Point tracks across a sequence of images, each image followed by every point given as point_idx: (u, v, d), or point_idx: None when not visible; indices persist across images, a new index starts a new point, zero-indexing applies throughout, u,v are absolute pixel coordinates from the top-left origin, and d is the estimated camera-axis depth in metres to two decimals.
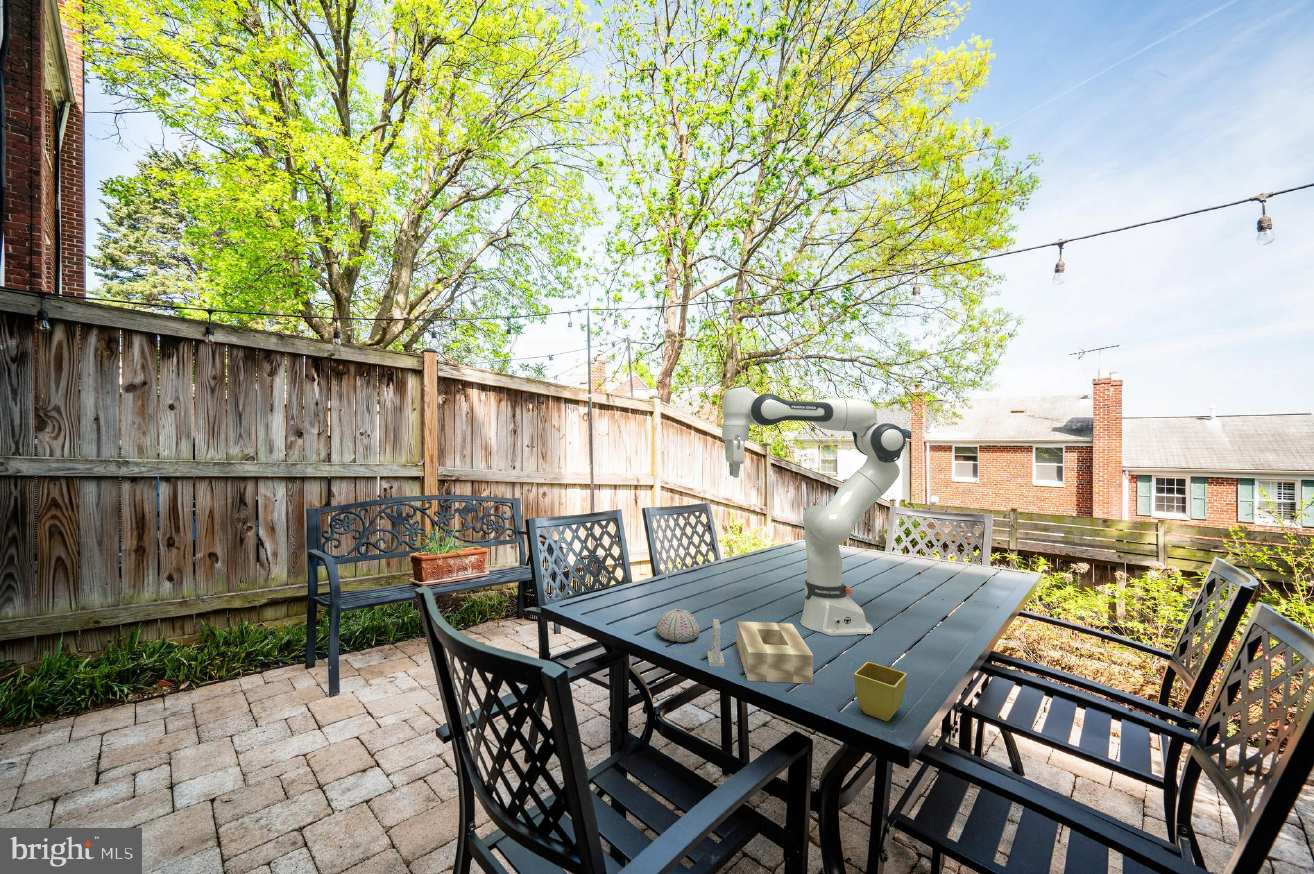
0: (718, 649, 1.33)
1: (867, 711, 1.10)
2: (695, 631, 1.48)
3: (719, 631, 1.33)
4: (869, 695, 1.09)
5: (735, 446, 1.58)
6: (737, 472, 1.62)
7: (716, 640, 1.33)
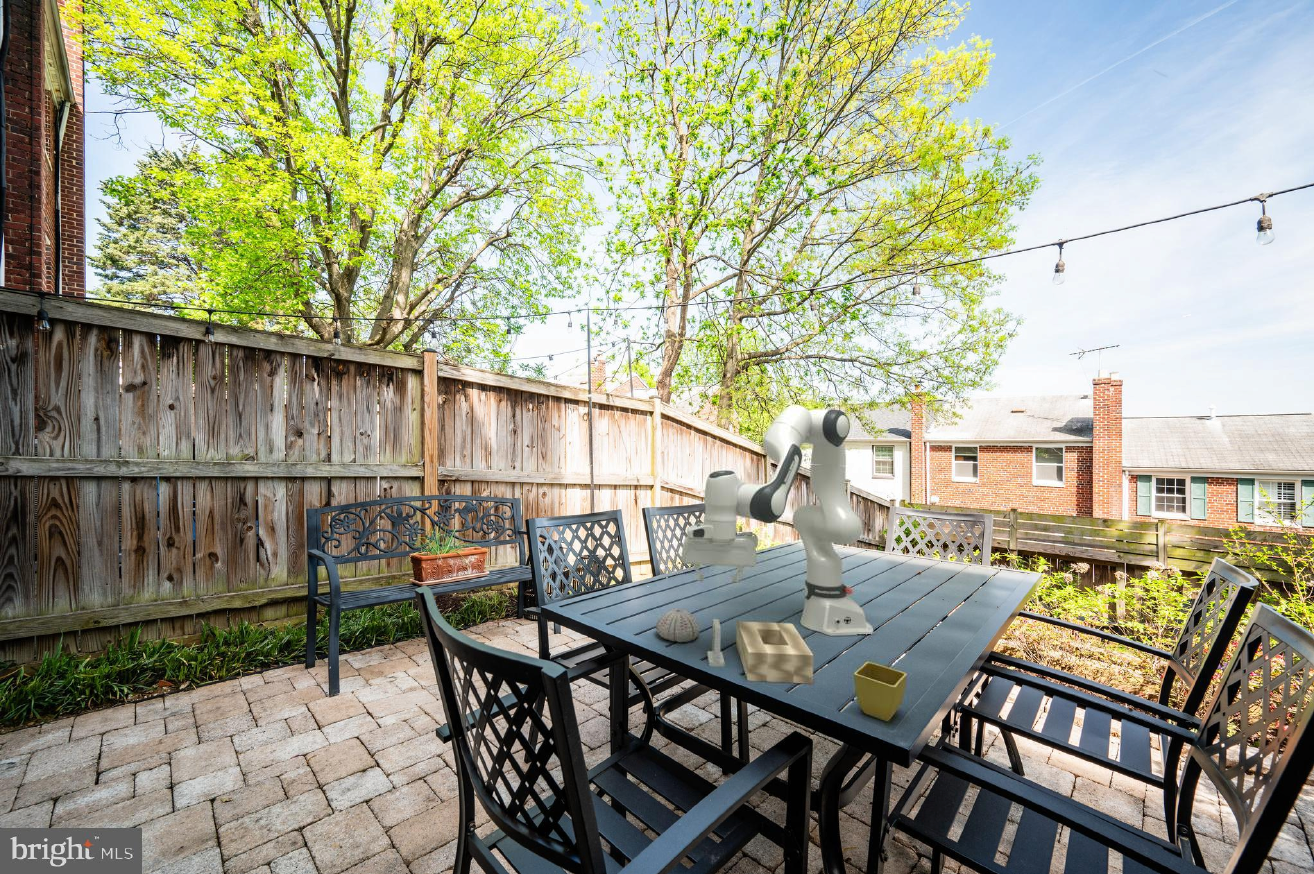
0: (718, 649, 1.33)
1: (867, 711, 1.10)
2: (695, 631, 1.48)
3: (719, 631, 1.33)
4: (869, 695, 1.09)
5: (755, 546, 1.35)
6: None
7: (716, 640, 1.33)
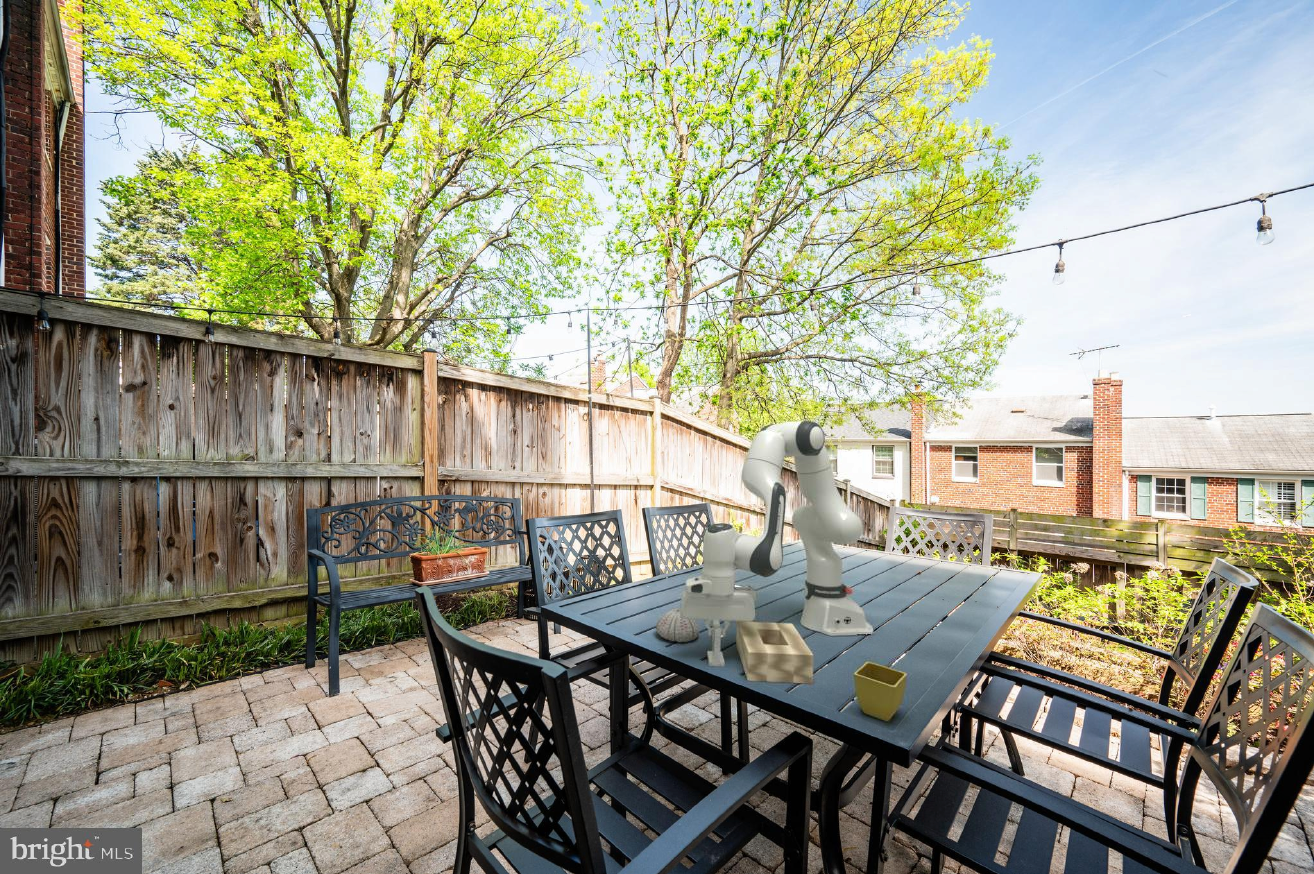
0: (718, 649, 1.33)
1: (867, 711, 1.10)
2: (695, 631, 1.48)
3: (719, 631, 1.33)
4: (869, 695, 1.09)
5: (753, 601, 1.35)
6: None
7: (716, 640, 1.33)
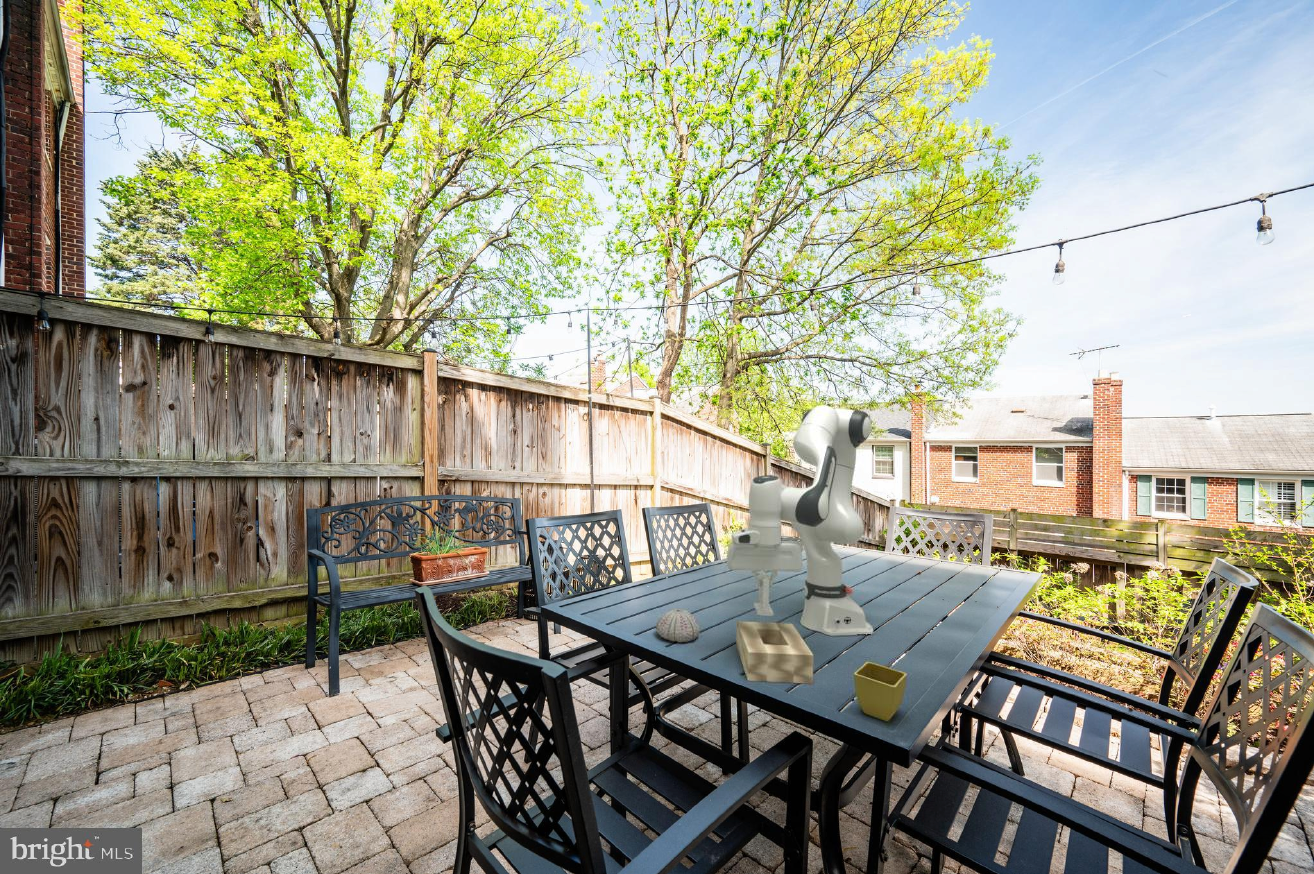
0: (767, 598, 1.33)
1: (867, 711, 1.10)
2: (695, 631, 1.48)
3: (767, 581, 1.33)
4: (869, 695, 1.09)
5: (800, 551, 1.35)
6: None
7: (764, 590, 1.33)
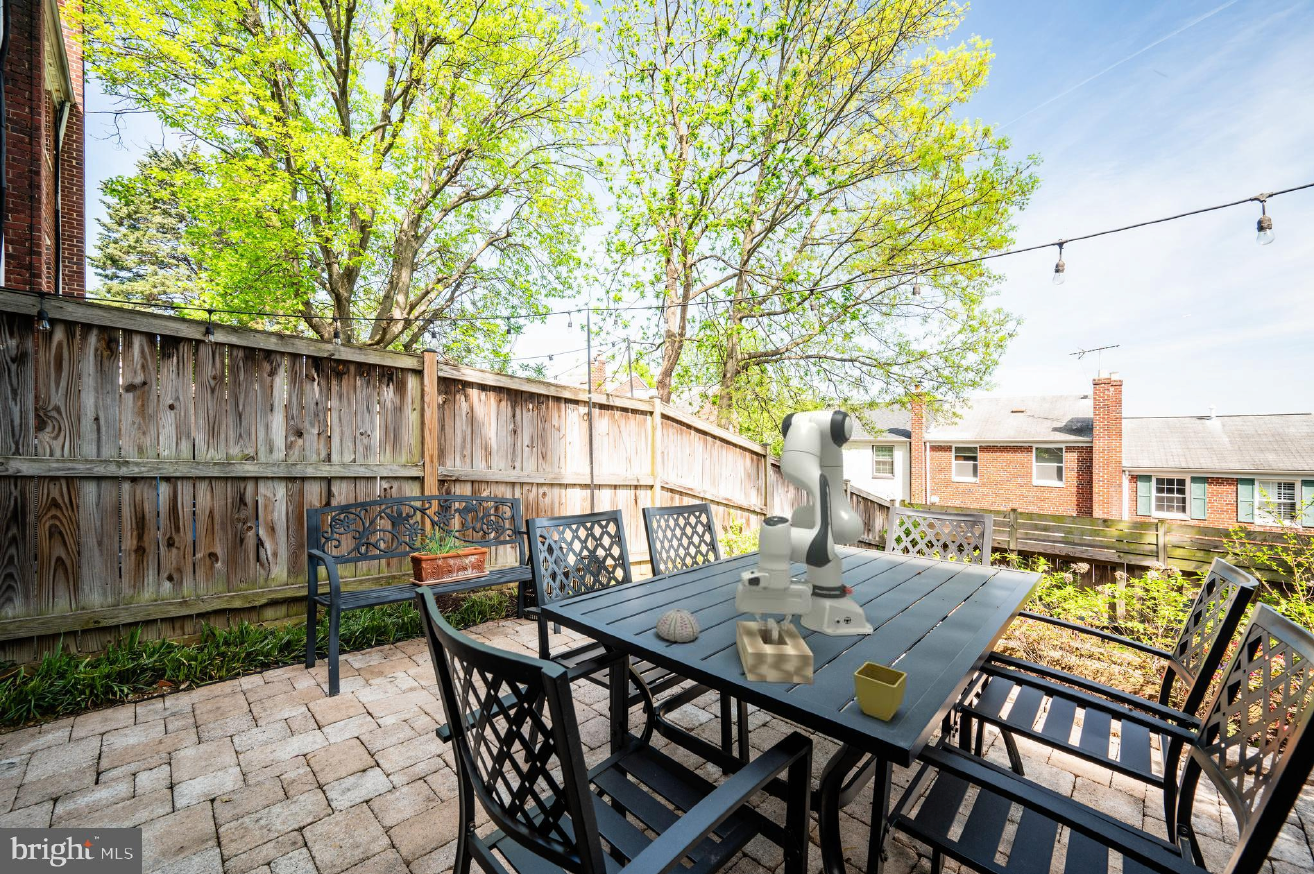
0: None
1: (867, 711, 1.10)
2: (695, 631, 1.48)
3: (776, 630, 1.33)
4: (869, 695, 1.09)
5: (810, 594, 1.35)
6: None
7: (773, 639, 1.32)
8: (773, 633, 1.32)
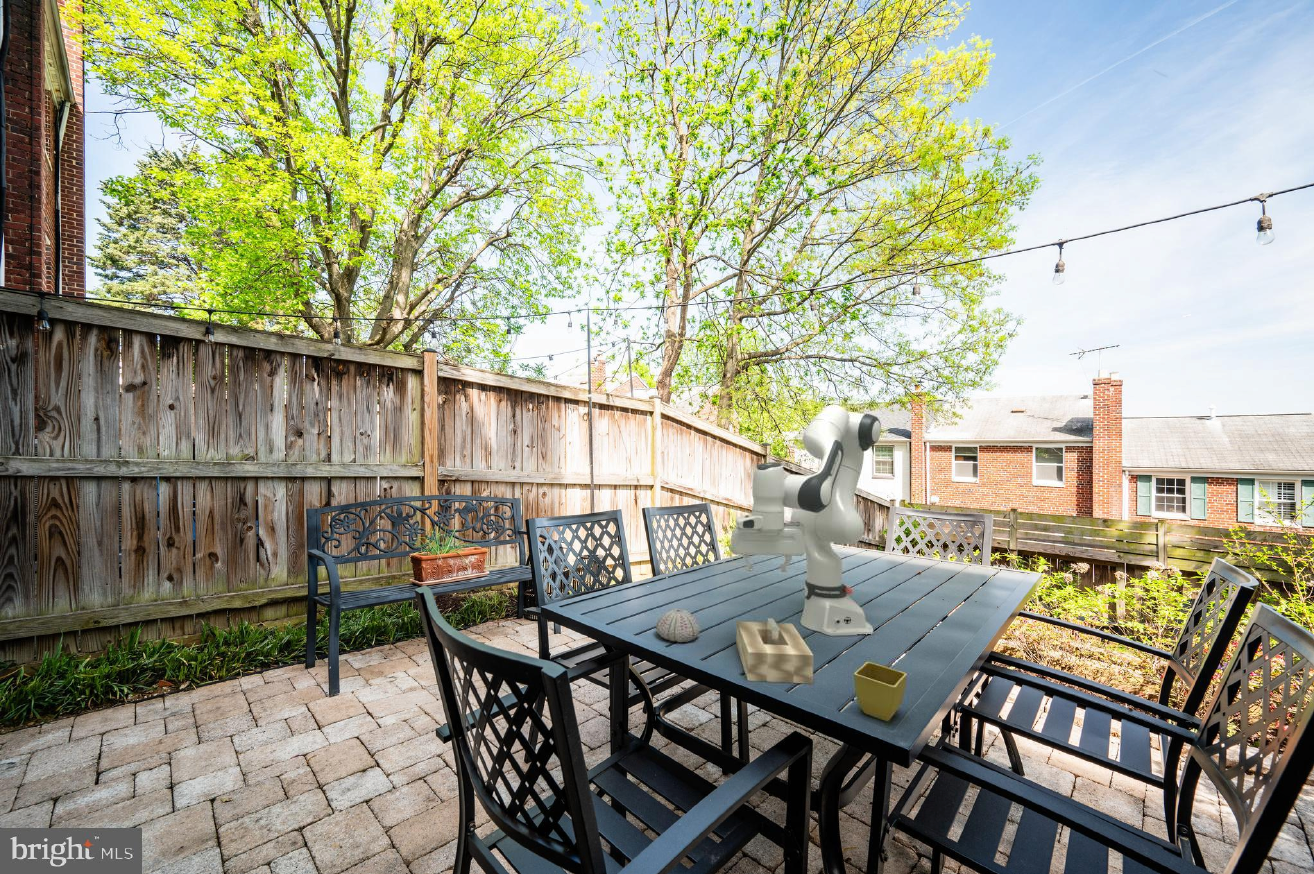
0: None
1: (867, 711, 1.10)
2: (695, 631, 1.48)
3: (776, 630, 1.33)
4: (869, 695, 1.09)
5: (803, 536, 1.39)
6: None
7: (773, 639, 1.32)
8: (773, 633, 1.32)
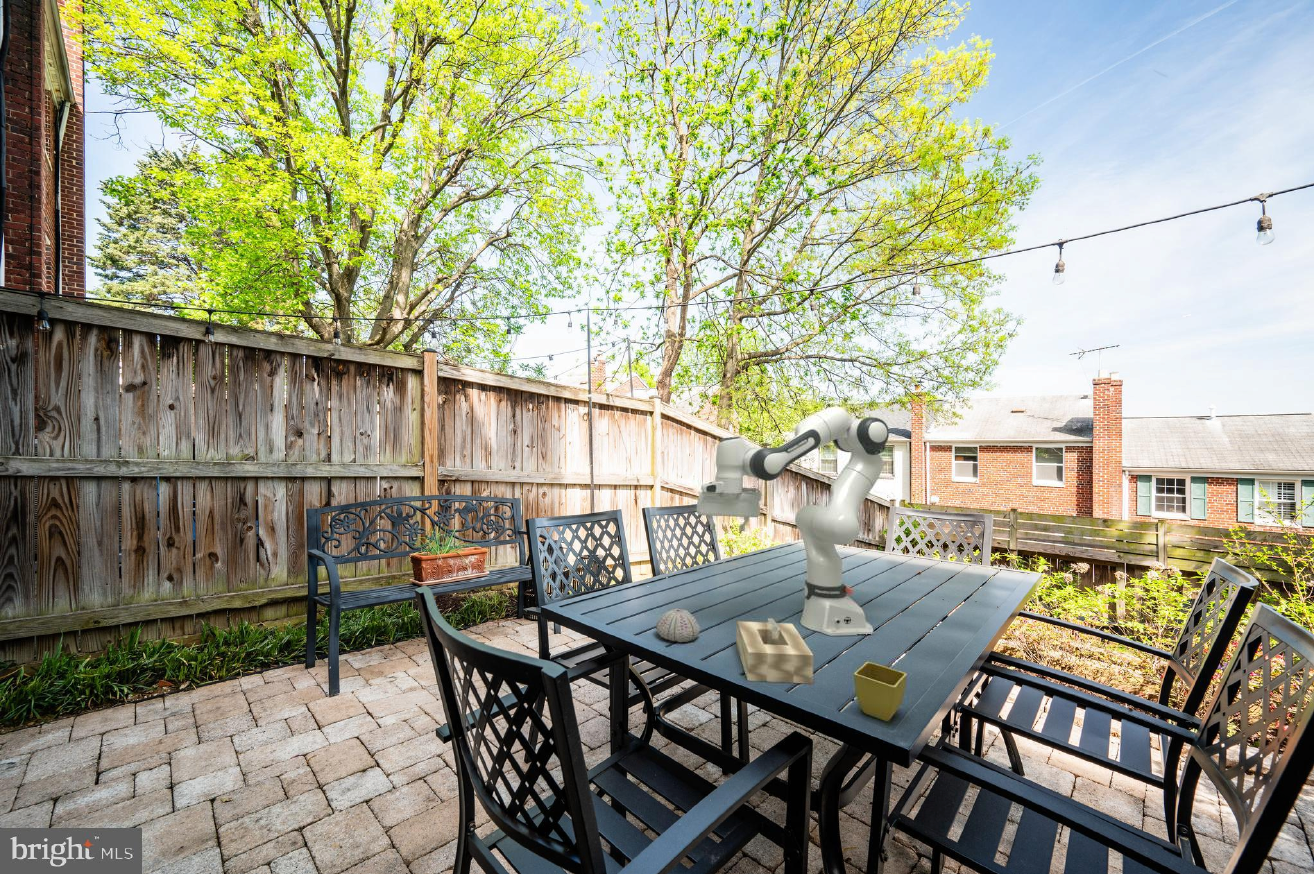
0: None
1: (867, 711, 1.10)
2: (695, 631, 1.48)
3: (776, 630, 1.33)
4: (869, 695, 1.09)
5: (758, 500, 1.60)
6: None
7: (773, 639, 1.32)
8: (773, 633, 1.32)
